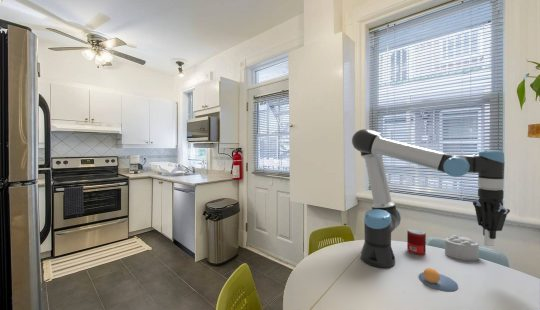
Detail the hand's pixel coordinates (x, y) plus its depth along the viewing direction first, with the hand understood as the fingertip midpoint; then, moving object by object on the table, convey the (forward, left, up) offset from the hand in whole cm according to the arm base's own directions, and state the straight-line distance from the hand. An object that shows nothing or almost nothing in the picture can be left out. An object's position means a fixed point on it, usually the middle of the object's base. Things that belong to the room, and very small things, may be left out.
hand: (489, 245), depth 94 cm
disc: (0, -22, -14) cm, 26 cm away
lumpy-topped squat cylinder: (-20, +6, -14) cm, 25 cm away
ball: (0, -25, -11) cm, 27 cm away
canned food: (-25, -13, -14) cm, 32 cm away
